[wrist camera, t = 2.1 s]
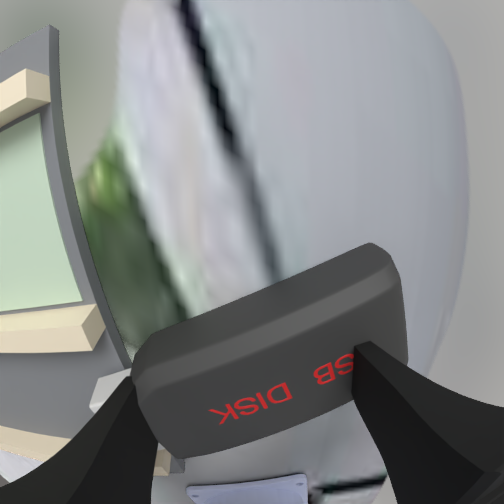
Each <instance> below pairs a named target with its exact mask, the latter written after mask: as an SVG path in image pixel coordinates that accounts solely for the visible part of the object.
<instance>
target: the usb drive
mask: <svg viewBox="0 0 504 504" xmlns="http://www.w3.org/2000/svg"><path fill="white" fill-rule="evenodd" d="M368 341H371V342H373V343H374V344H376V345H377V346H378V347H380V348H381V349H383V350H384V351H385V352H387V353H388V354H390V355H391V356H393V357H394V358H395V359H397V360H398V361H400V362H401V363H403V364H404V365H406V366H407V363H408V346H407V332H406V321H405V311H404V302H403V294H402V286H401V279H400V275H399V273H398V271H397V269H396V267H395V264H394V262H393V260H392V258H391V256H390V255H389V254H388V253H387V252H386V251H385V250H384V249H382V248H380V247H379V246H377V245H375V244H373V243H367V244H364V245H362V246H359V247H357V248H355V249H353V250H351V251H348V252H346V253H344V254H342V255H339V256H337V257H335V258H333V259H331V260H328V261H326V262H324V263H322V264H319V265H317V266H315V267H313V268H310V269H308V270H306V271H304V272H301V273H299V274H297V275H294V276H292V277H290V278H288V279H285V280H283V281H281V282H278V283H276V284H274V285H271V286H269V287H267V288H264V289H262V290H259V291H257V292H255V293H252V294H250V295H248V296H245V297H243V298H240V299H238V300H235V301H233V302H231V303H228V304H226V305H223V306H221V307H218V308H216V309H213V310H211V311H208V312H206V313H203V314H201V315H198V316H196V317H193V318H191V319H188V320H186V321H183V322H181V323H178V324H176V325H173V326H170V327H168V328H165V329H163V330H160V331H158V332H155V333H154V334H152V335H151V336H150V337H149V338H148V339H147V341H146V342H145V343H144V344H143V345H142V347H141V348H140V349H139V350H138V352H137V353H136V354H135V356H134V360H133V364H132V368H129V369H126V370H123V371H120V372H117V373H114V374H111V375H108V376H104V377H101V378H98V381H97V384H96V387H95V390H94V392H93V395H92V398H91V401H90V404H89V407H90V409H91V410H92V411H93V412H94V413H96V412H97V411H98V410H99V408H100V407H101V406H102V405H103V404H104V402H105V401H106V400H107V399H108V397H109V396H110V395H111V394H112V393H113V391H114V390H115V389H116V388H117V386H118V385H119V384H120V383H121V382H122V380H123V379H124V378H125V377H126V376H132V381H133V384H135V386H136V392H137V398H138V405H139V407H140V409H141V411H142V413H143V415H144V417H145V419H146V421H147V423H148V425H149V427H150V428H151V430H152V432H153V434H154V436H155V438H156V439H157V441H158V442H159V443H158V449H157V450H162V449H166V450H167V451H168V452H169V453H170V454H171V455H172V456H174V457H175V458H176V459H183V458H190V457H196V456H202V455H207V454H211V453H215V452H219V451H223V450H226V449H230V448H233V447H236V446H240V445H243V444H246V443H249V442H252V441H255V440H258V439H261V438H264V437H267V436H270V435H272V434H275V433H278V432H281V431H283V430H286V429H288V428H291V427H293V426H296V425H298V424H301V423H303V422H306V421H308V420H310V419H313V418H315V417H317V416H320V415H322V414H324V413H326V412H329V411H331V410H333V409H335V408H337V407H339V406H341V405H344V404H346V403H348V402H350V401H352V400H354V399H353V396H352V394H351V390H352V376H353V358H354V346H355V345H358V344H361V343H364V342H368Z"/></svg>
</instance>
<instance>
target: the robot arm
mask: <svg viewBox="0 0 504 504" xmlns="http://www.w3.org/2000/svg"><path fill="white" fill-rule="evenodd" d="M351 394H352V396H353V399H354V402H355V404H356V407H357V409H358V411H359V413H360V415H361V417H362V419H363V421H364V423H365V424H366V426H367V428H368V430H369V432H370V434H371V436H372V438H373V440H374V442H375V444H376V446H377V448H378V450H379V452H380V454H381V456H382V458H383V461H384V463H385V466H386V469H387V472H388V475H389V478H390V480H391V484H392V487H393V490H394V493H395V497H396V500H397V503H398V504H504V407H499V406H494V405H491V404H486V403H483V402H480V401H477V400H474V399H471V398H468V397H466V396H463V395H460V394H458V393H456V392H453V391H451V390H449V389H447V388H445V387H442V386H440V385H438V384H436V383H435V382H433V381H431V380H429V379H427V378H426V377H424V376H422V375H420V374H419V373H417V372H415V371H414V370H412V369H411V368H409V367H407V366H406V365H404V364H403V363H401V362H400V361H398V360H397V359H395V358H394V357H393V356H391V355H390V354H388V353H387V352H385V351H384V350H383V349H381V348H380V347H378V346H377V345H376V344H374V343H373V342H371V341H368V342H364V343H361V344H358V345H355V346H354V358H353V376H352V390H351ZM158 443H159V442H158V441H157V439H156V438H155V436H154V434H153V432H152V430H151V428H150V427H149V425H148V423H147V421H146V419H145V417H144V415H143V413H142V411H141V409H140V407H139V405H138V398H137V392H136V386H135V384H133V381H132V376H126V377H125V378H124V379H123V380H122V382H121V383H120V384H119V385H118V386H117V388H116V389H115V390H114V391H113V393H112V394H111V395H110V396H109V397H108V399H107V400H106V401H105V402H104V404H103V405H102V406H101V407H100V408H99V410H98V411H97V412H96V413H95V414H94V416H93V417H92V418H91V419H90V420H89V421H88V422H87V423H86V424H85V426H84V427H83V428H82V429H81V430H80V431H79V432H78V433H77V434H76V435H75V436H74V437H73V438H72V439H71V440H70V441H69V442H68V443H67V444H66V445H65V446H64V447H63V448H62V449H60V450H59V451H58V452H57V453H56V454H55V455H53V456H52V457H51V458H49V459H48V460H47V461H45V462H44V463H43V464H41V465H40V466H39V467H37V468H36V469H34V470H33V471H31V472H30V473H28V474H26V475H25V476H23V477H21V478H19V479H17V480H15V481H13V482H11V483H9V484H7V485H5V486H2V487H0V504H151V488H152V480H153V474H154V467H155V461H156V455H157V449H158ZM186 493H187V494H188V496H189V497H190V498H191V499H192V501H193V502H194V503H195V504H308V492H307V477H306V475H305V474H296V475H291V476H286V477H280V478H274V479H268V480H261V481H253V482H245V483H235V484H224V485H209V486H189V487H187V488H186Z"/></svg>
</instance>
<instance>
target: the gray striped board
mask: <svg viewBox="0 0 504 504" xmlns="http://www.w3.org/2000/svg"><path fill="white" fill-rule="evenodd" d="M59 71H60V69H59V30H57V29H56V28H54V27H53V26H51V25H48V26H46V27H44V28H42V29H40V30H38V31H36V32H34V33H32V34H31V35H29V36H27V37H25V38H24V39H22V40H20V41H19V42H17V43H15V44H14V45H12V46H10V47H9V48H8V49H6V50H4V51H3V52H1V53H0V449H1V450H4V451H7V452H10V453H14V454H17V455H20V456H24V457H28V458H31V459H35V460H39V461H44V462H45V461H47V460H48V459H49V458H51V457H52V456H53V455H55V454H56V453H57V452H58V451H59V450H60V449H62V448H63V447H64V446H65V445H66V444H67V443H68V442H69V441H70V440H71V439H72V438H73V437H74V436H75V435H76V434H77V433H78V432H79V431H80V430H81V429H82V428H83V427H84V426H85V424H86V423H87V422H88V421H89V420H90V419H91V418H92V417H93V416H94V414H95V413H94V412H93V411H92V410H91V409H90V407H89V404H90V401H91V398H92V395H93V392H94V390H95V387H96V384H97V381H98V378H101V377H104V376H108V375H111V374H114V373H117V372H120V371H123V370H126V369H129V368H132V363H131V361H130V359H129V356H128V354H127V352H126V349H125V347H124V345H123V342H122V340H121V338H120V335H119V333H118V330H117V328H116V325H115V323H114V320H113V317H112V315H111V312H110V309H109V307H108V304H107V301H106V298H105V296H104V293H103V290H102V287H101V284H100V281H99V278H98V275H97V272H96V269H95V265H94V262H93V259H92V256H91V252H90V249H89V245H88V242H87V238H86V234H85V231H84V227H83V223H82V219H81V215H80V211H79V207H78V202H77V198H76V193H75V188H74V183H73V178H72V173H71V168H70V163H69V156H68V150H67V143H66V137H65V129H64V120H63V112H62V101H61V88H60V72H59ZM184 470H185V462H184V460H183V459H176V458H175V457H174V456H172V455H171V454H170V453H169V452H168V451H167V450H166V449H162V450H157V455H156V461H155V467H154V474H153V476H169V473H184Z"/></svg>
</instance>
